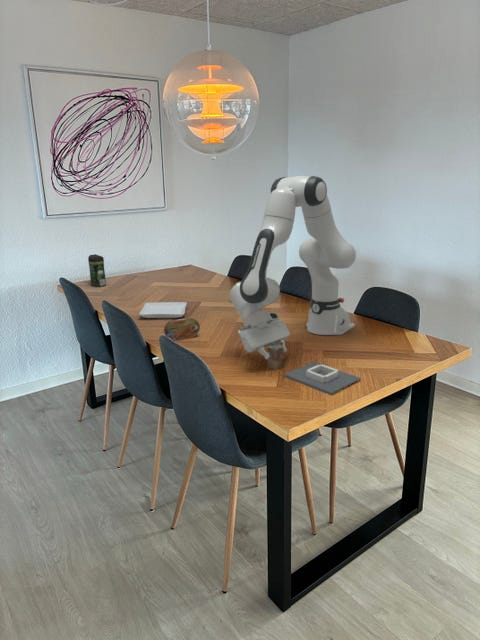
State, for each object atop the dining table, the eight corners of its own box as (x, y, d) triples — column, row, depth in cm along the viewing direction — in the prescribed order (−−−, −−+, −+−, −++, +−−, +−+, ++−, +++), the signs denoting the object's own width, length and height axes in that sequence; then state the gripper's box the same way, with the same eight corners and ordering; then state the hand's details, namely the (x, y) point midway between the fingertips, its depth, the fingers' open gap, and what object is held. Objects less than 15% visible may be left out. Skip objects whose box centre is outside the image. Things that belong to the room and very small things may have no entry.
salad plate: (187, 307, 253) (187, 301, 252) (184, 320, 233) (184, 313, 232) (145, 308, 253) (145, 302, 252) (139, 321, 232) (138, 314, 231)
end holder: (314, 363, 181) (314, 356, 180) (360, 380, 167) (361, 372, 166) (284, 376, 170) (284, 368, 170) (331, 395, 156) (331, 387, 155)
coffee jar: (89, 285, 301) (85, 254, 295) (101, 283, 306) (98, 253, 300) (95, 288, 294) (92, 256, 288) (108, 285, 299) (105, 255, 293)
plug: (275, 363, 181) (275, 342, 179) (283, 366, 178) (283, 345, 176) (267, 366, 179) (267, 345, 176) (275, 369, 176) (275, 348, 173)
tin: (166, 342, 204) (164, 322, 202) (163, 340, 207) (162, 320, 204) (200, 336, 210) (199, 317, 208) (197, 334, 213) (196, 315, 210)
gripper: (240, 324, 172) (260, 358, 168) (280, 312, 185) (300, 343, 181) (232, 333, 176) (251, 367, 172) (272, 321, 189) (290, 352, 185)
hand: (276, 355), depth 177 cm, fingers open, 7 cm apart
